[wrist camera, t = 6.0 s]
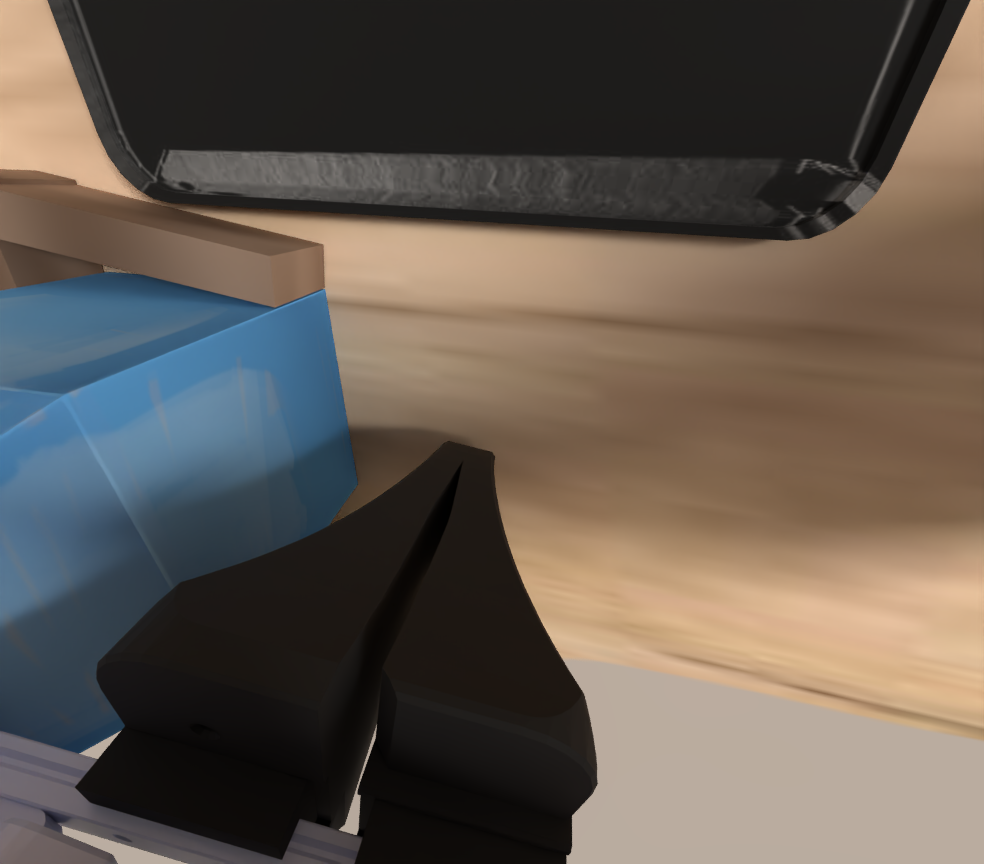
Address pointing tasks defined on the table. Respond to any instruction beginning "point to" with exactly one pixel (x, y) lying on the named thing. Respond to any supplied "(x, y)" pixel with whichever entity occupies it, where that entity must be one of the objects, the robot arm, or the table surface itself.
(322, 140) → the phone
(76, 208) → the bracket
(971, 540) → the table surface
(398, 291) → the table surface
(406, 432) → the table surface
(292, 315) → the perfume bottle
